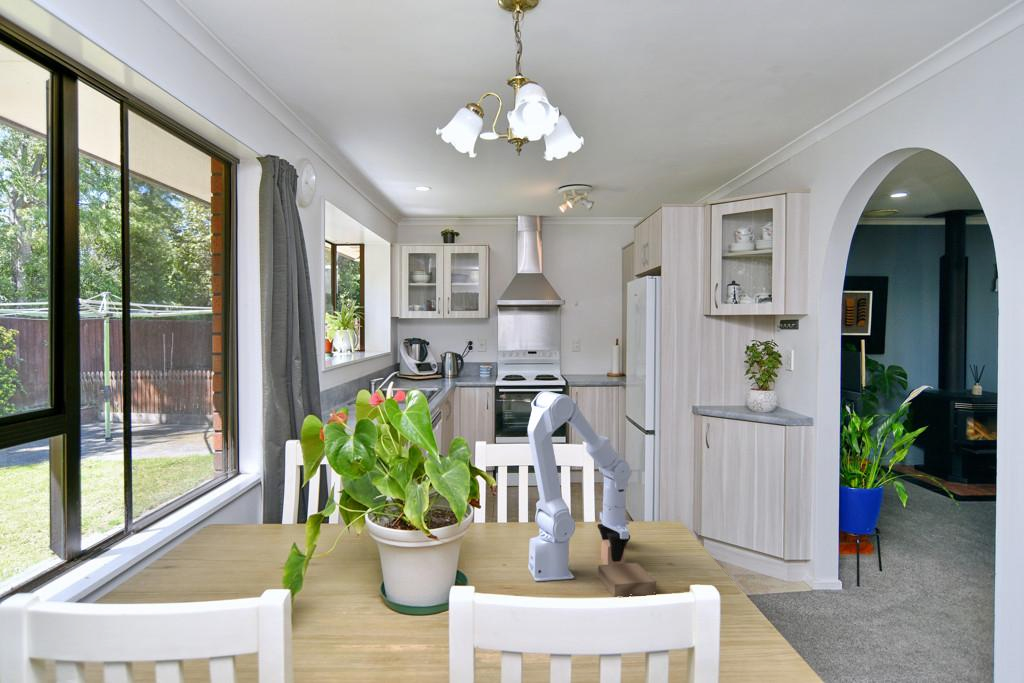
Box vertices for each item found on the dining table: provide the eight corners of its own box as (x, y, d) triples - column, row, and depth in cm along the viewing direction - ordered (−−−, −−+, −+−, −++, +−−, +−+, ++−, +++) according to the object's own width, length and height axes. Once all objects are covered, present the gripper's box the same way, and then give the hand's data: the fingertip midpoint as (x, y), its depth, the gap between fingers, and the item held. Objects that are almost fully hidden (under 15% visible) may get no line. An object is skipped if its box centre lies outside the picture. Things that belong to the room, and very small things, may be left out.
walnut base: (614, 597, 121) (614, 584, 121) (598, 577, 131) (598, 565, 131) (655, 594, 123) (656, 581, 123) (636, 575, 133) (637, 562, 133)
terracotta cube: (607, 566, 138) (608, 546, 138) (600, 559, 142) (601, 540, 142) (624, 565, 139) (624, 545, 138) (617, 558, 143) (617, 539, 143)
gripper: (641, 512, 134) (639, 567, 134) (617, 495, 148) (616, 544, 148) (614, 513, 132) (612, 569, 133) (593, 496, 146) (591, 546, 147)
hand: (612, 556), depth 140 cm, fingers closed on terracotta cube, 4 cm apart
